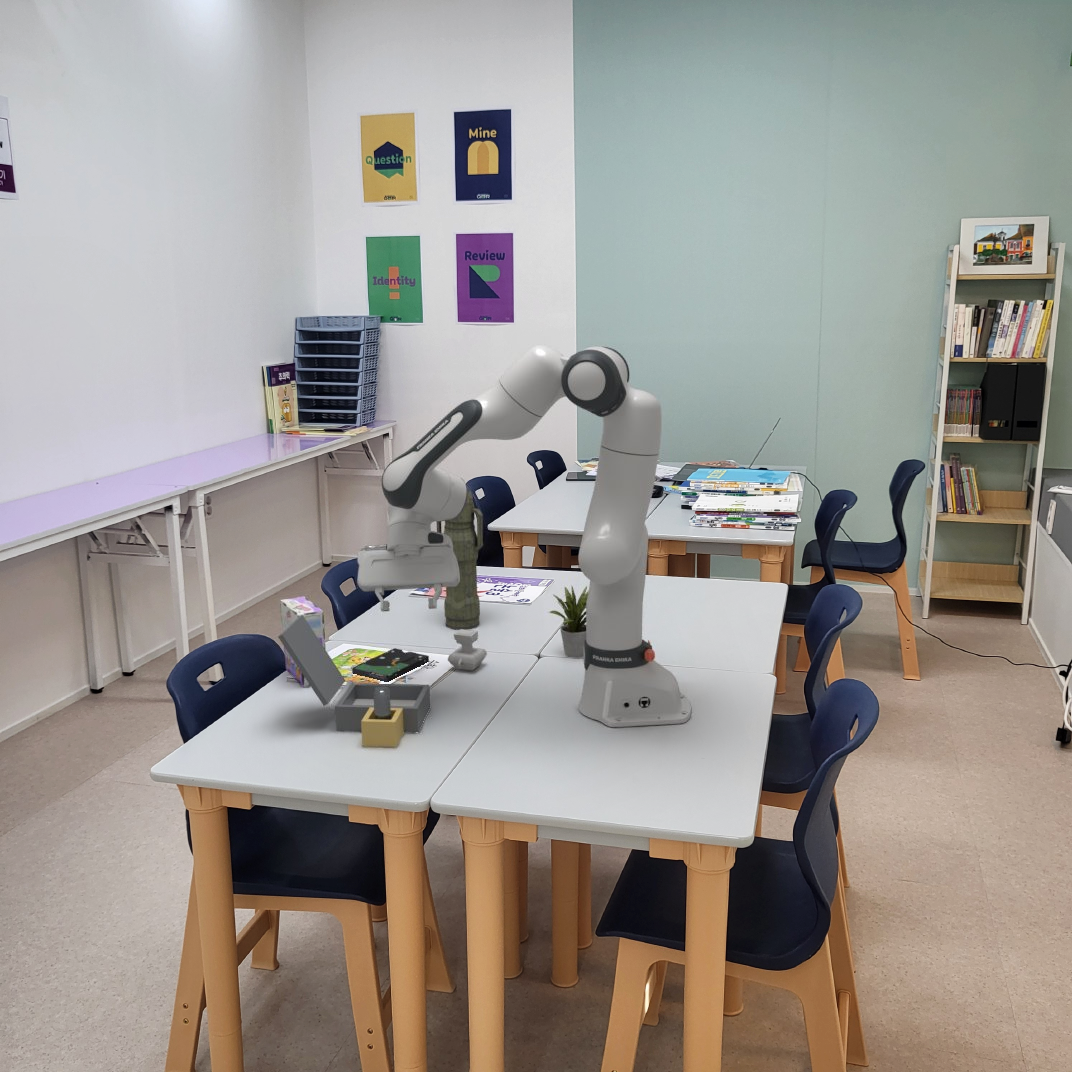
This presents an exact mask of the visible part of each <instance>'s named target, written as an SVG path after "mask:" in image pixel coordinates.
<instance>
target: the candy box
mask: <svg viewBox="0 0 1072 1072" xmlns="http://www.w3.org/2000/svg"><path fill="white" fill-rule="evenodd" d="M279 603H280V605H279V606H280V607H279V608H280V615H281V616H280V617H281V626H282V627H281V628H282V633H283V632H284V631H285V630H286V629H287V628H288V627H289V626H290V625H291V624H292V623H293V622H294V621H295V620H296V619H297V618H298V617H299V616H301V615H303V616H304V618H305V619H306V621H307V622H308V624H309V625H310V627H311V629H312V630H313V632H314V633H315V635H316V636H317V638H318V639H319V641H320V642H321V644H322V645H323V647H324V648H325V649H326V634H325V633H326V632H325V619H324V618H325V616H324V610H322V609H321V608H320V607H318V606H317V605H315V604H314V603H313V602H312V601H311V600H309V599H308V598H307V597H305V596H296V597H291V598H285V599H280V600H279ZM283 652H284V662H285V663H284V664H285V670H287V672H288V673H289V674H290V673H291V674H292V675H293V676H294V677H295V678H296V679H297V680H296V679H295V678H294V677H293V676H292V675H291V674H290V675H291V676H292V677H293V678H294V679H295V680H296V681H297V682H298V683H299V684H300V685H301V686H302V687H303V688H305V687H311V686H310V684H309V683H308V681H307V680H306V678H305V677H304V675H303V674H302V672H301V671H300V669H299V668H298V666H297V665H296V663H295V662H294V660H293V659H292V657H291V656H290V654H289V653H288V651H287V650H286V648H285V647H284V646H283Z"/></svg>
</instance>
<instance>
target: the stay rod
mask: <svg viewBox="0 0 1072 1072" xmlns="http://www.w3.org/2000/svg"><path fill="white" fill-rule="evenodd" d="M373 695H374V714H375V719H379V720H391V708H390V689H389V688H388V687H377V688H375V689H374V690H373Z"/></svg>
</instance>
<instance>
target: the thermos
mask: <svg viewBox="0 0 1072 1072" xmlns="http://www.w3.org/2000/svg"><path fill="white" fill-rule="evenodd" d="M467 491H468V498H467V503H466V506H465V508H464V510H463V511H462V513H461V514H460V515H458V516H457V517H456V518H454V519H452V520H447V521H444V527H443V528H444V529H443V530H444V531H443V532H442V521H441V522H436V532H438V533H443V534H446V535H448V536H449V537H450V539H451V540H452V543H453V552H454V554H455V556H456V559H457V562H458V567H459V573H460V582H459V583H458V585H457V586H454V587H445V598H444V617H445V627H447V629H450V630H456V631H459V630H460V629H464V630H473V629H475V628H478V627H479V626H480V614H481V608H480V607H481V606H480V605H481V604H480V597H479V595H478V582H477V581H478V580H477V579H478V576H477V575H478V574H477V573H478V570H477V562H478V561H477V560H478V558H479V551H480V550H481V549H482V548H483V546H484V541H483V539H484V538H483V537H484V535H483V532H484V531H483V529H484V528H483V527H484V526H483V525H484V522H483V521H484V520H483V519H484V518H483V517H484V514H483V513H482V511H481V510H480V508H476V507H475V499H474V496H473V494H472V492H471V489H468V488H467ZM475 515H476V518H475ZM475 519H476V525H475ZM476 531H477V532H476Z"/></svg>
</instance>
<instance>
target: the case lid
mask: <svg viewBox="0 0 1072 1072" xmlns="http://www.w3.org/2000/svg"><path fill="white" fill-rule="evenodd" d="M277 637H278V640H279V641H280V642H281V645H283V648H284V647H285V648H286V650H287V651H288V653H289V654H290V656H291V657H292V659H293V660H294V662H295V663H296V665H297V666H298V668H299V669H300V671H301V672H302V674H303V675H304V677H305V678H306V680H307V681H308V683H309V684H310V686H309V687H310V688H311V689H312V691H313V692H314V694H315V695H316V697H317V698H318V700H319V701H320V703H321V705H323V707H326V706H327V705H329V703H330V702H331V701H332V699H333V698H334V697H335V695H336V694H337V693H338V691H339V690H340V689H341V687H342V686H343V685H344V683H345V681H346V679H345V677H344V676H343V675H342V673H341V672H340V670H339V669H338V667H337V666H336V664H335V662H334V661H333V659H332V658H331V656H330V655H329V653H328V652H327V650H326V647H325V648H324V647H323V645H322V644H321V642H320V641H319V639H318V638H317V636H316V635H315V633H314V632H313V630H312V629H311V627H310V625H309V624H308V622H307V621H306V619H305V618H304V616H303V615H301V616H299V617H298V618H297V619H296V620H295V621H294V622H293V623H292V624H291V625H290V626H289V627H288V628H287V629H286V630H285V631H284V632H283V631H282V632H281V633H280V634H279V635H278V636H277Z"/></svg>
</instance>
